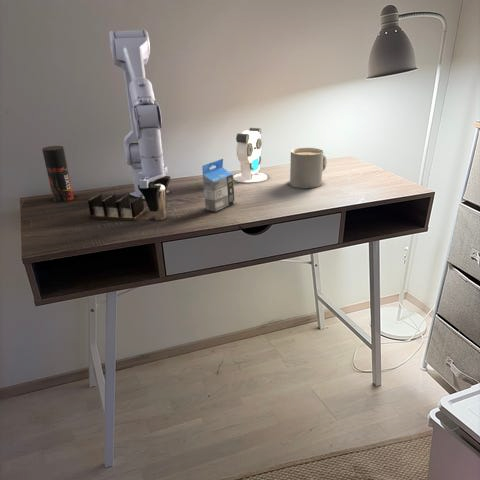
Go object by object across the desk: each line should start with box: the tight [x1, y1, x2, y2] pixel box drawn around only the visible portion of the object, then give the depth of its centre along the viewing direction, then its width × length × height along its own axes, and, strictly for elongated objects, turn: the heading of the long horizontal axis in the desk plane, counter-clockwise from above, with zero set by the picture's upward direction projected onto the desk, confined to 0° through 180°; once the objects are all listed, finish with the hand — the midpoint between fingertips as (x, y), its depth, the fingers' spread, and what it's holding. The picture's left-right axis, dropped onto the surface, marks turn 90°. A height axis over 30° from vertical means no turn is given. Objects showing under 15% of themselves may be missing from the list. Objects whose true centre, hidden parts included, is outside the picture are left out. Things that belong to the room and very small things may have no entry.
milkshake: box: [151, 183, 167, 221], centre depth 135 cm, size 4×5×10 cm
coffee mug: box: [289, 147, 328, 189], centre depth 160 cm, size 13×10×10 cm
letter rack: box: [87, 192, 146, 222], centre depth 139 cm, size 13×7×5 cm, turn 76°
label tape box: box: [201, 158, 235, 213], centre depth 141 cm, size 9×4×12 cm, turn 143°
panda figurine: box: [233, 127, 268, 184], centre depth 165 cm, size 12×11×15 cm
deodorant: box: [41, 145, 74, 203], centre depth 152 cm, size 6×6×15 cm
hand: (157, 207), depth 136 cm, fingers open, 5 cm apart
